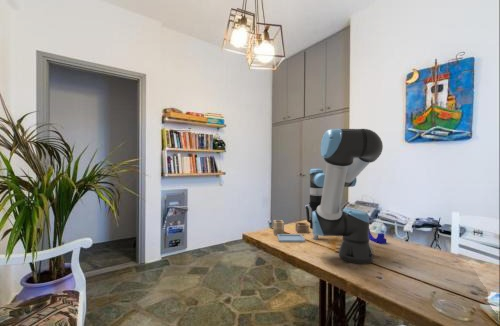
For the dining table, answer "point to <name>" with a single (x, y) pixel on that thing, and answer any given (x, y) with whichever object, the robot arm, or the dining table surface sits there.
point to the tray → (290, 238)
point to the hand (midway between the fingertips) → (315, 234)
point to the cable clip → (379, 239)
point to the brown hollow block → (302, 228)
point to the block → (278, 227)
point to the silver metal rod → (315, 236)
